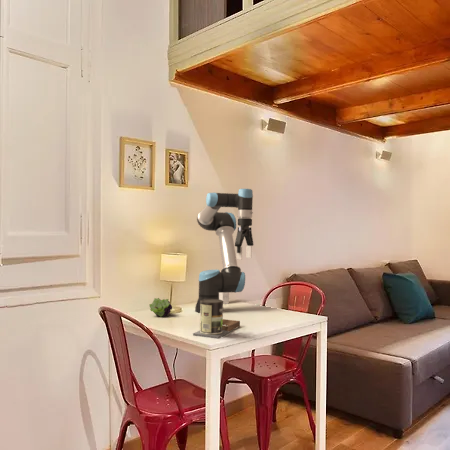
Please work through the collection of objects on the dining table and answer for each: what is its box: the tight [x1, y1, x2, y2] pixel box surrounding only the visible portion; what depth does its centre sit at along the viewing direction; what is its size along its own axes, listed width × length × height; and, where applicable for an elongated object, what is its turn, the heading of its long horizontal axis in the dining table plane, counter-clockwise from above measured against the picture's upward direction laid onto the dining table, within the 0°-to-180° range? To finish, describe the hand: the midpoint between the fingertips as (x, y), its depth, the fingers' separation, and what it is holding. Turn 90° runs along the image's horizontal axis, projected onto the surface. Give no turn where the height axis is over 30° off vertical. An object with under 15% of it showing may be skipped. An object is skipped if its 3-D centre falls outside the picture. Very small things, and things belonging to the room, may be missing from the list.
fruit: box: [149, 297, 173, 318], centre depth 241 cm, size 10×10×15 cm
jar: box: [219, 292, 230, 305], centre depth 285 cm, size 9×8×12 cm
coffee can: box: [199, 299, 224, 335], centre depth 202 cm, size 10×10×14 cm
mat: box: [192, 330, 230, 339], centre depth 202 cm, size 12×12×1 cm
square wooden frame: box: [222, 318, 241, 332], centre depth 216 cm, size 14×14×2 cm
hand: (244, 258), depth 237 cm, fingers open, 13 cm apart
